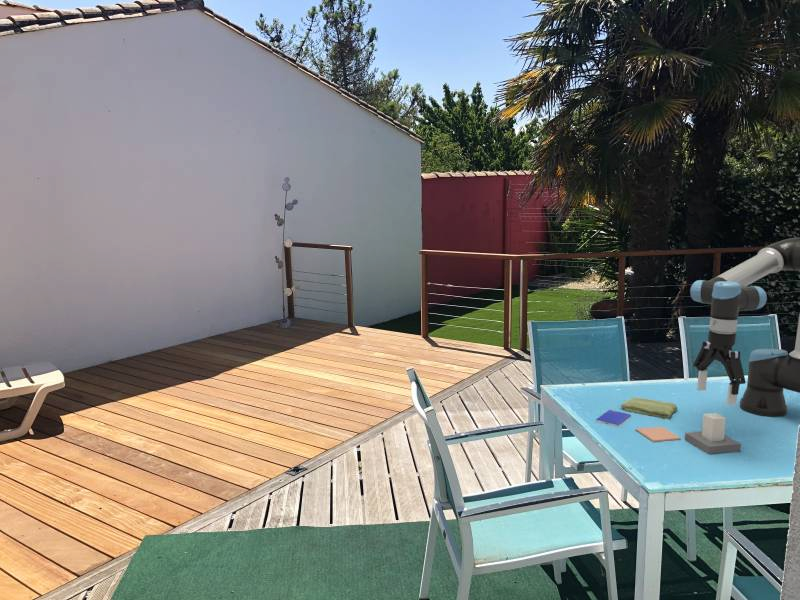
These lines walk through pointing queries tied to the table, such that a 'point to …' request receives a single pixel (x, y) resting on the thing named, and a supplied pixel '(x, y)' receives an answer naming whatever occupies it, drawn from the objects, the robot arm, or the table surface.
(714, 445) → the gray square ring
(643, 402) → the washcloth
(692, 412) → the table surface
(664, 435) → the pad
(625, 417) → the hard drive
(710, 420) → the plug
